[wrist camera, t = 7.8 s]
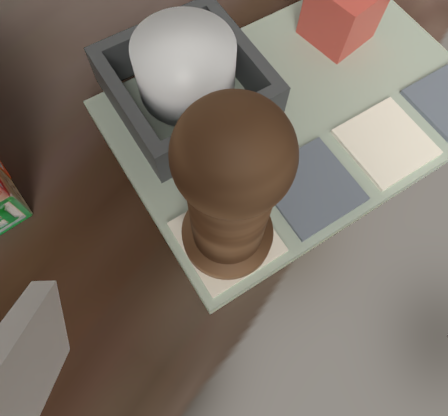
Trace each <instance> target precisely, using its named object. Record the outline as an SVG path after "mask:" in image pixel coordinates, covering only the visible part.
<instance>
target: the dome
mask: <svg viewBox="0 0 448 416" xmlns="http://www.w3.org/2000/svg"><path fill="white" fill-rule="evenodd" d="M129 56H130V60H131V64H132V67H133V71H134V75H135V78H136V82H137V86H138V89H139V93H140V96H141V100H142V102H143V104H144V106H145V108H146V109H147V111H148V112H149V113H150V114H151V115H152V116H153V117H155V118H156V119H158V120H159V121H161V122H163V123H166V124H168V125H172V126H175V125H176V123H177V121H178V119H179V118H180V116H181V115H182V114H183V113H184V111H185V110H186V109H187V108H188V107H189V106H190V105H191V104H192V103H194V102H195V101H196V100H198V99H200V98H201V97H203V96H205V95H207V94H209V93H211V92H215V91H218V90H223V89H234V86H235V72H236V57H237V42H236V37H235V34H234V32H233V31H232V29H231V27H230V26H229V25H228V24H227V23H226V22H225V21H224V20H223V19H222V18H221V17H219V16H218V15H216V14H214V13H212V12H210V11H207V10H204V9H201V8H197V7H188V6H180V7H171V8H167V9H163V10H160V11H158V12H155V13H153V14H151V15H150V16H148V17H147V18H145V19H144V20H143V21H142V22H141V23H140V24H139V25H138V26H137V27H136V29H135V30H134V31H133V33H132V35H131V38H130V41H129Z"/></svg>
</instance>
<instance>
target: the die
mask: <svg viewBox="0 0 448 416" xmlns="http://www.w3.org/2000/svg"><path fill="white" fill-rule="evenodd" d="M389 2H390V0H303V3H302V7H301V12H300V16H299V20H298V24H297V29H296V33H297V34H299V35H300V36H301V37H302V38H304V39H305V40H306V41H308V42H309V43H310V44H311V45H313V46H314V47H315V48H316V49H318V50H319V51H320V52H322V53H323V54H324V55H325V56H327V57H328V58H329V59H330V60H332V61H333V62H334V63H335V64H338V63H339V62H341V61H342V60H343V59H345V58H346V57H347V56H348V55H350V54H351V53H352V52H354V51H355V50H356V49H357V48H359V47H360V46H361V45H362V44H364V43H365V42H366V41H368V40H369V39H370V38H371V37H373V35H374V33H375V31H376V29H377V27H378V25H379V23H380V21H381V18H382V16H383V14H384V12H385V10H386V8H387V6H388V4H389Z"/></svg>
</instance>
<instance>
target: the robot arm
mask: <svg viewBox="0 0 448 416" xmlns="http://www.w3.org/2000/svg"><path fill="white" fill-rule="evenodd" d="M447 337H448V335H447ZM69 351H70V347H69V342H68V337H67V332H66V327H65V322H64V317H63V312H62V307H61V302H60V297H59V292H58V287H57V282H56V281H31V283H30V284H29V285H28V287H27V288H26V289H25V291H24V292H23V293H22V295H21V296H20V297H19V299H18V300H17V301H16V303H15V304H14V305H13V307H12V308H11V309H10V311H9V312H8V313H7V315H6V316H5V317H4V319H3V320H2V321H1V322H0V416H40V414H41V412H42V410H43V408H44V405H45V403H46V401H47V399H48V397H49V394H50V392H51V390H52V388H53V386H54V384H55V381H56V379H57V377H58V375H59V373H60V370H61V368H62V366H63V364H64V362H65V359H66V357H67V355H68V353H69Z"/></svg>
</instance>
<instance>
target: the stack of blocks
mask: <svg viewBox="0 0 448 416" xmlns="http://www.w3.org/2000/svg"><path fill="white" fill-rule="evenodd" d="M32 215H33V213H32V211H31V210H30V208H29V207H28V205H27V204H26V202H25V201H24V199H23V197H22V196H21V194H20V193H19V191H18V190H17V188H16V187H15V185H14V183H13V182H12V179H11V176H10V175H9V173H8V172H7V170H6V169H5V167H4V166H3V164H2V163H1V161H0V235H1V234H3V233H5V232H6V231H8V230H10V229H11V228H13V227H14V226H16V225H18V224H19V223H21V222H22V221H24V220H25V219H27V218H29V217H31V216H32Z"/></svg>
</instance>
